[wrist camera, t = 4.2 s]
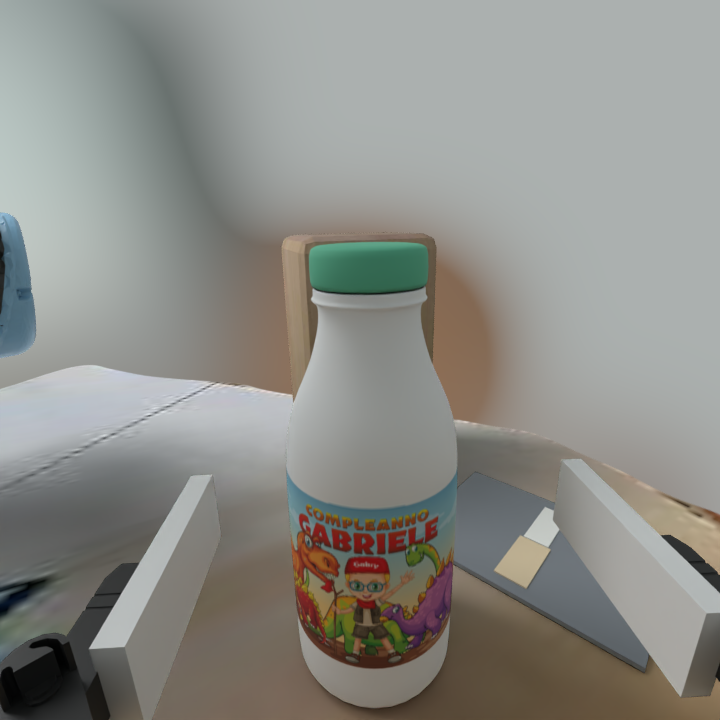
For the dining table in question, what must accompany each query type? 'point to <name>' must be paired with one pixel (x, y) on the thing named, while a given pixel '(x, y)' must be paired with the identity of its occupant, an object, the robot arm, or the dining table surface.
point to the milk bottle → (372, 480)
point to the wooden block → (301, 291)
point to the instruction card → (536, 564)
